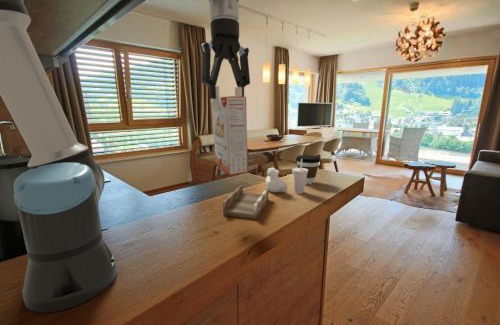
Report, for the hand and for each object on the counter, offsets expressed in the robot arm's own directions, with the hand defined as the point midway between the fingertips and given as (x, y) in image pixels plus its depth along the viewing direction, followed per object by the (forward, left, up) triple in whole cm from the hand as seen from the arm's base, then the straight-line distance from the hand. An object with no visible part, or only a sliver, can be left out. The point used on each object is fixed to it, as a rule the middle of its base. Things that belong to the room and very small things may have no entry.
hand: (228, 110), depth 71 cm
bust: (+8, +30, -33) cm, 46 cm away
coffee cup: (+20, +46, -33) cm, 61 cm away
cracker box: (0, 0, -17) cm, 17 cm away
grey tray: (+2, +11, -33) cm, 35 cm away
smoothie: (+18, +31, -33) cm, 49 cm away
